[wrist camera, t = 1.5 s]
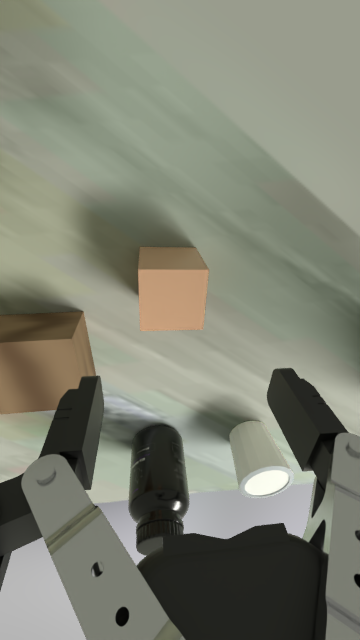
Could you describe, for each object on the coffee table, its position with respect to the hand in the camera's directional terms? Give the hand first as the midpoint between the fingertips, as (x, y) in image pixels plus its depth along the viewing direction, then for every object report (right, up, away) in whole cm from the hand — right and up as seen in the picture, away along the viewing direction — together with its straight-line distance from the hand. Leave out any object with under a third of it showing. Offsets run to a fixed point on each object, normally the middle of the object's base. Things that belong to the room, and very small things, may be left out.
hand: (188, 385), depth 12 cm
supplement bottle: (-4, -13, +25) cm, 28 cm away
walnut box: (-14, 0, +16) cm, 21 cm away
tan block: (-2, +7, +13) cm, 15 cm away
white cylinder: (+9, -13, +26) cm, 31 cm away
